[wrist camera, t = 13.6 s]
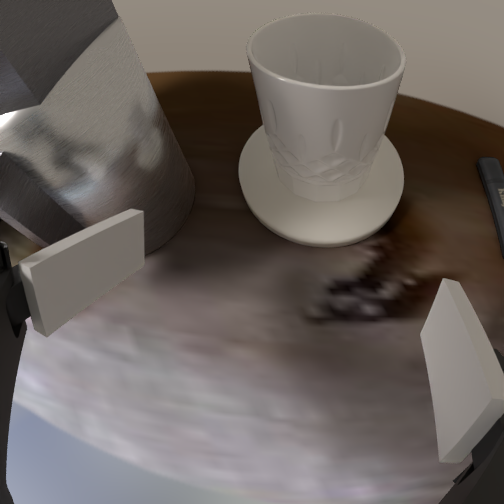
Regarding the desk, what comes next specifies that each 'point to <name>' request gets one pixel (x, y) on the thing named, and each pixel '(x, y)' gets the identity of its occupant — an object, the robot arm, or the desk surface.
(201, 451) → the desk surface
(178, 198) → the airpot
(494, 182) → the usb stick
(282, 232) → the saucer
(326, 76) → the white cup
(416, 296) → the desk surface
